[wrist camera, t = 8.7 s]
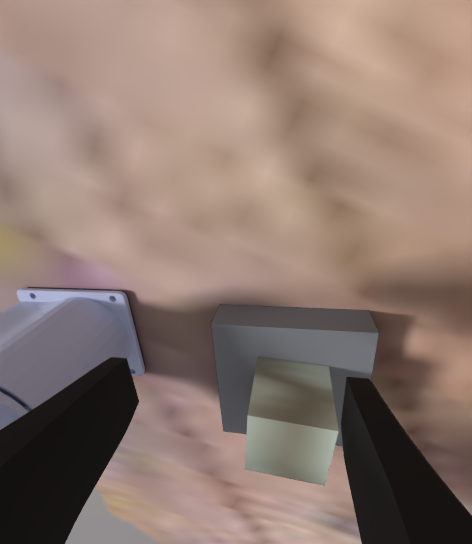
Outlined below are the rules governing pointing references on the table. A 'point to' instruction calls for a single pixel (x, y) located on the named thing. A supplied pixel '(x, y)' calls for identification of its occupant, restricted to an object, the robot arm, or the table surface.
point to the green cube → (291, 421)
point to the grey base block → (288, 350)
